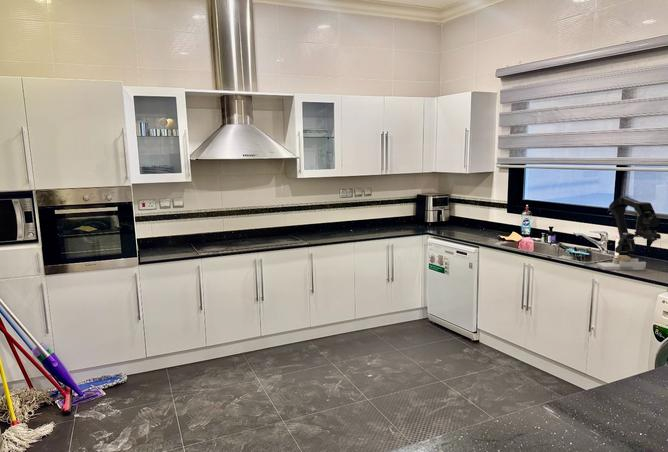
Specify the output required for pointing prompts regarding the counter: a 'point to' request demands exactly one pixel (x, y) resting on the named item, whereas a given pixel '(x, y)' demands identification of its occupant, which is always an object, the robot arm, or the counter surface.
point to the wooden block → (623, 258)
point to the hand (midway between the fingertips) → (639, 250)
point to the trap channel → (623, 265)
